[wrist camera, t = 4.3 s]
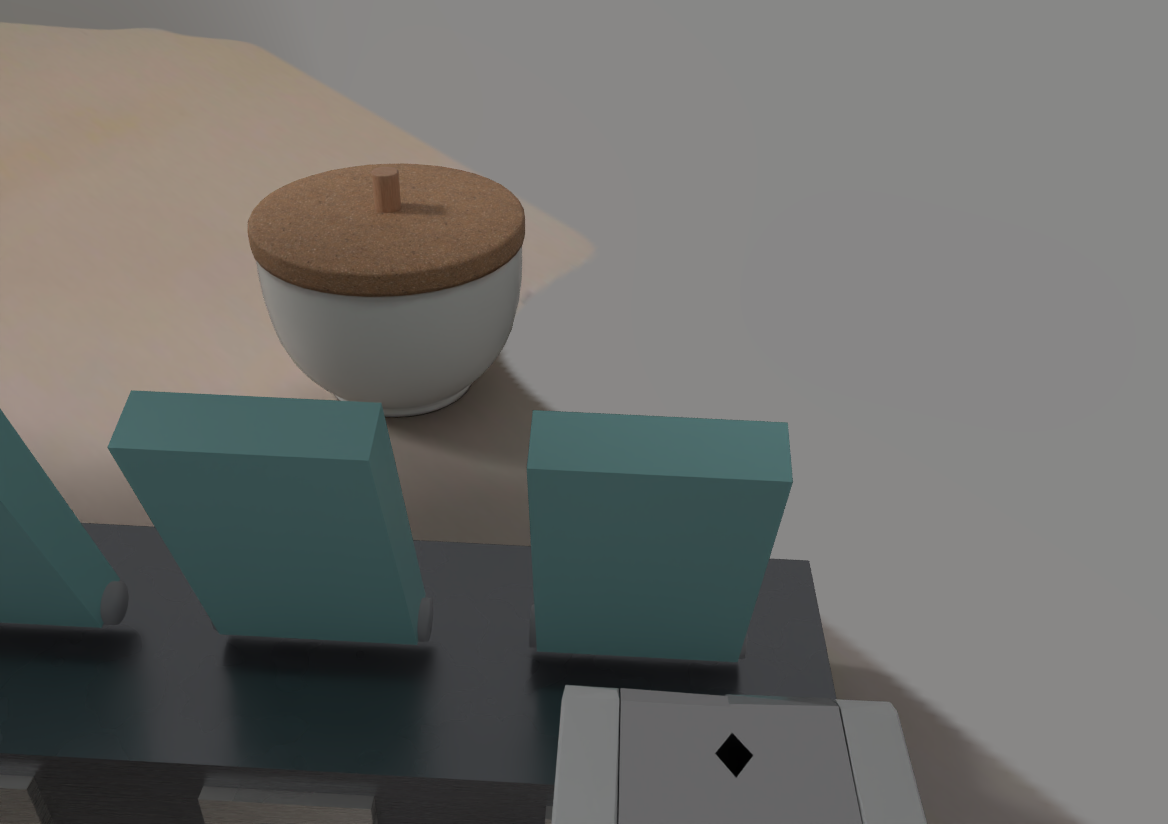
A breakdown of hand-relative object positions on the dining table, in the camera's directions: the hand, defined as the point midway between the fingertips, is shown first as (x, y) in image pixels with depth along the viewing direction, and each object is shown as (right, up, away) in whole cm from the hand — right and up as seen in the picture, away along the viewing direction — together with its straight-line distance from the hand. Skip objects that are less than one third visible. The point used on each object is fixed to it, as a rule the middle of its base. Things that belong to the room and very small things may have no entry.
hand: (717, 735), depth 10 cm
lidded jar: (-9, +4, +35) cm, 37 cm away
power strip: (-8, -6, +19) cm, 22 cm away
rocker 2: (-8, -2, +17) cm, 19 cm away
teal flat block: (0, -2, +16) cm, 17 cm away
